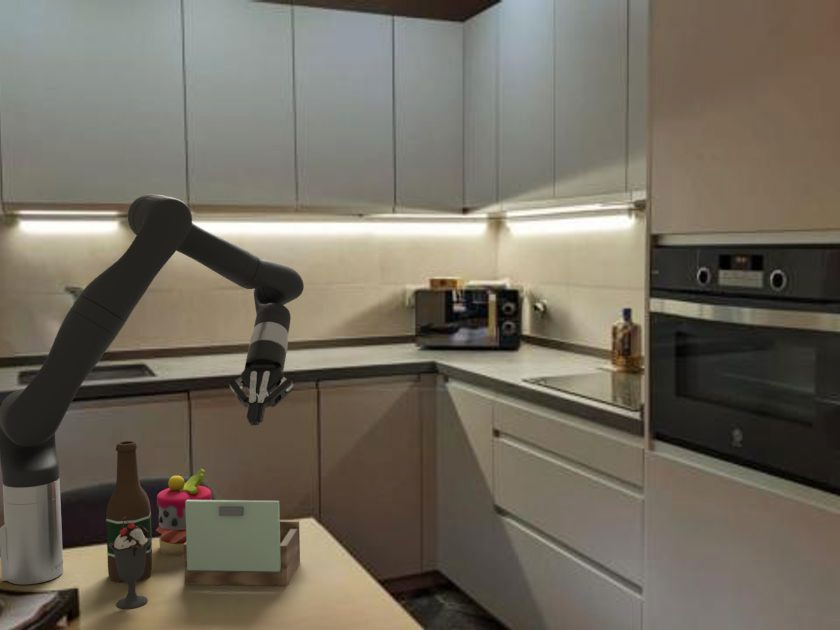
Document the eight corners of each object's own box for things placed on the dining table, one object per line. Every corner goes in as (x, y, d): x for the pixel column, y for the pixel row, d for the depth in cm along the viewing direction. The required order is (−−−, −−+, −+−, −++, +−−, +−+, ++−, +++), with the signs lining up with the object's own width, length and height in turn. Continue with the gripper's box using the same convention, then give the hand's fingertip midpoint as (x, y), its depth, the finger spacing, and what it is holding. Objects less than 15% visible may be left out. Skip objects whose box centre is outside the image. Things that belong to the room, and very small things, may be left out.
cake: (165, 560, 164) (163, 481, 162) (152, 543, 173) (149, 469, 171) (220, 550, 169) (218, 473, 168) (204, 534, 178) (202, 462, 177)
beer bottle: (139, 584, 151) (135, 448, 150) (98, 581, 153) (94, 446, 151) (161, 568, 159) (157, 438, 157) (122, 565, 161) (118, 437, 159)
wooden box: (184, 583, 152) (183, 538, 151) (204, 560, 163) (203, 518, 162) (287, 585, 151) (286, 540, 150) (300, 562, 162) (299, 519, 161)
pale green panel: (185, 573, 149) (183, 502, 148) (189, 570, 151) (187, 499, 150) (278, 575, 148) (277, 503, 147) (280, 571, 150) (279, 500, 149)
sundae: (114, 614, 139) (111, 522, 138) (108, 599, 145) (104, 510, 144) (156, 606, 142) (153, 515, 141) (148, 592, 148) (146, 505, 147)
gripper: (230, 338, 173) (214, 412, 161) (297, 337, 172) (285, 411, 160) (239, 361, 178) (224, 434, 167) (303, 361, 177) (292, 433, 166)
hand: (254, 423), depth 164 cm, fingers closed
